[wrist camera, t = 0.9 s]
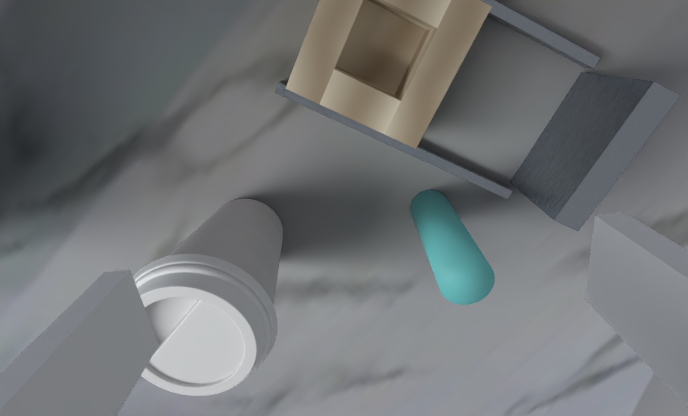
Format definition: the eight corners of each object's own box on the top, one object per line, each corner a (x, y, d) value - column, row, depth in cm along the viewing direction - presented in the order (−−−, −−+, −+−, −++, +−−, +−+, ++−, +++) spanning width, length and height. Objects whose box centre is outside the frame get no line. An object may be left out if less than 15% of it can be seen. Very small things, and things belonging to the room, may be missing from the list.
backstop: (277, 90, 32) (256, 104, 25) (341, -79, 28) (338, -123, 20) (521, 203, 35) (567, 245, 28) (612, 68, 31) (694, 76, 24)
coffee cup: (264, 163, 34) (208, 244, 20) (318, 250, 37) (301, 372, 24) (174, 210, 36) (66, 315, 22) (233, 290, 39) (171, 425, 25)
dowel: (403, 216, 36) (428, 293, 25) (421, 183, 35) (456, 249, 24) (436, 230, 37) (475, 311, 25) (455, 199, 35) (505, 269, 24)
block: (294, 82, 32) (285, 88, 27) (347, -54, 28) (346, -72, 24) (406, 134, 33) (415, 148, 29) (469, 12, 30) (492, 6, 25)
